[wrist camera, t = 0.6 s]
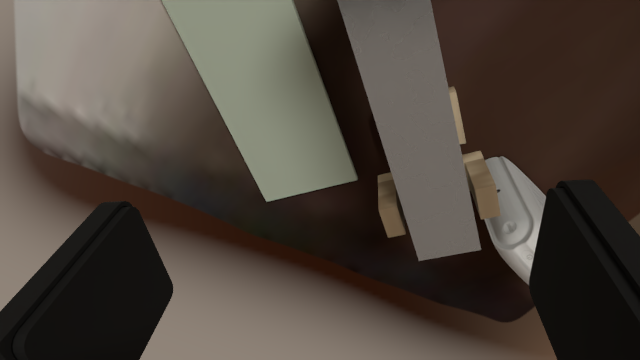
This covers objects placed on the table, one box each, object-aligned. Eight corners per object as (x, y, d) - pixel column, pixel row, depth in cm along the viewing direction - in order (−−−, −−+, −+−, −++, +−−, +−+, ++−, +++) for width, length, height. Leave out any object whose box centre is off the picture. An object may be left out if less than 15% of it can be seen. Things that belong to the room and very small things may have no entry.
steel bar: (391, -155, 19) (396, -169, 15) (468, 211, 30) (481, 249, 26) (310, -118, 20) (298, -123, 17) (413, 222, 31) (418, 260, 27)
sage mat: (258, -96, 29) (256, -96, 28) (357, 176, 41) (357, 180, 40) (143, -43, 32) (139, -42, 31) (267, 198, 43) (266, 201, 43)
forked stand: (411, -137, 27) (438, -169, 16) (464, 136, 37) (503, 231, 26) (309, -92, 29) (272, -93, 18) (387, 155, 39) (393, 251, 28)
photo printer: (461, 174, 39) (492, 267, 29) (500, 146, 37) (548, 236, 27) (524, 233, 42) (572, 336, 32) (563, 210, 40) (628, 313, 30)
